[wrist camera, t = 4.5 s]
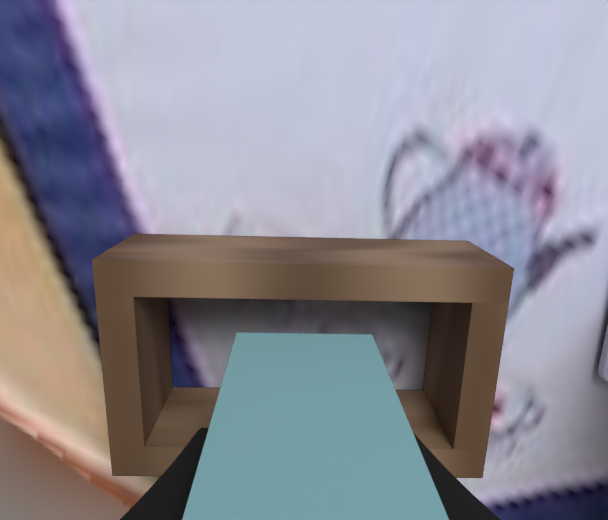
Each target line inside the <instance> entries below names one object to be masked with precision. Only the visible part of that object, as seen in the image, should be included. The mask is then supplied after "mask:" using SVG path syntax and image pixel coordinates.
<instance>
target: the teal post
mask: <svg viewBox="0 0 608 520" xmlns="http://www.w3.org/2000/svg"><path fill="white" fill-rule="evenodd" d="M182 520H449V518H448V516H447V514H446V511H445V509H444V506H443V504H442V502H441V499H440V497H439V494H438V492H437V490H436V487H435V485H434V482H433V480H432V477H431V475H430V473H429V470H428V468H427V465H426V463H425V461H424V458H423V456H422V453H421V451H420V448H419V446H418V444H417V441H416V439H415V436H414V434H413V432H412V429H411V427H410V424H409V422H408V420H407V417H406V415H405V412H404V410H403V407H402V405H401V403H400V400H399V398H398V395H397V393H396V391H395V388H394V386H393V383H392V381H391V378H390V376H389V374H388V371H387V369H386V366H385V364H384V362H383V359H382V357H381V354H380V352H379V350H378V347H377V345H376V342H375V340H374V337H373V335H372V334H306V333H236V336H235V340H234V343H233V347H232V350H231V354H230V357H229V361H228V364H227V367H226V371H225V374H224V378H223V381H222V385H221V388H220V391H219V395H218V398H217V402H216V405H215V409H214V412H213V416H212V419H211V422H210V426H209V429H208V433H207V436H206V440H205V443H204V446H203V450H202V453H201V457H200V460H199V464H198V467H197V471H196V474H195V477H194V481H193V484H192V488H191V491H190V495H189V498H188V502H187V505H186V508H185V512H184V515H183V519H182Z"/></svg>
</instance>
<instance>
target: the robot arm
mask: <svg viewBox="0 0 608 520" xmlns="http://www.w3.org/2000/svg"><path fill="white" fill-rule="evenodd" d="M598 373H599V375H600V376H601V377H602V378H603V379H605V380H606V381H607V382H608V325H607V330H606V335H605V339H604V344H603V349H602V354H601V358H600V363H599V368H598ZM208 429H209V428H200V429H199V430H198V431H197V432H196V433H195V434H194V436H193V437H192V438H191V440H190V441H189V442H188V444H187V445H186V446H185V448H184V449H183V450H182V451H181V453H180V454H179V455H178V456H177V458H176V459H175V460H174V461H173V463H172V464H171V465H170V466H169V467H168V469H167V470H166V471H165V472H164V473H163V474H162V475H161V477H160V478H159V479H158V480H157V481H156V482H155V484H154V485H153V486H152V487H151V488H150V489H149V490H148V491H147V492H146V493H145V494H144V495H143V496H142V498H141V499H140V500H139V501H138V502H137V503H136V504H135V505H134V506H133V507H132V508H131V509H130V510H129V511H128V512H127V513H126V514H125V515H124V516H123V517H122V518H121V519H120V520H182V519H183V515H184V512H185V508H186V505H187V502H188V498H189V495H190V491H191V488H192V484H193V481H194V477H195V474H196V471H197V467H198V464H199V460H200V457H201V453H202V450H203V446H204V443H205V440H206V436H207V433H208ZM413 434H414V433H413ZM414 436H415V439H416V441H417V444H418V446H419V448H420V451H421V453H422V456H423V458H424V461H425V463H426V465H427V468H428V470H429V473H430V475H431V477H432V480H433V482H434V485H435V487H436V490H437V492H438V494H439V497H440V499H441V502H442V504H443V506H444V509H445V511H446V514H447V516H448V518H449V520H500V519H499V518H498V517H497V516H496V515H494V514H493V513H492V512H491V511H490V510H489V509H488V508H487V507H486V506H484V505H483V504H482V503H481V502H480V501H479V500H478V499H477V498H476V497H475V496H474V495H472V494H471V493H470V492H469V491H468V490H467V489H466V488H465V487H464V486H463V485H462V484H461V483H460V482H459V481H458V480H457V479H456V478H455V477H454V476H453V475H452V474H451V473H450V472H449V471H448V470H447V469H446V467H445V466H444V465H443V464H442V463H441V462H440V461H439V460H438V459H437V458H436V457H435V456H434V455H433V454H432V452H431V451H430V450H429V449H428V448H427V447H426V446H425V445H424V444H423V443H422V441H421V440H420V439H419V438H418V437H417V436H416V435H415V434H414Z"/></svg>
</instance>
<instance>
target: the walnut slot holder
mask: <svg viewBox="0 0 608 520" xmlns="http://www.w3.org/2000/svg"><path fill="white" fill-rule="evenodd" d="M92 267H93V277H94V288H95V298H96V309H97V319H98V329H99V340H100V350H101V361H102V371H103V382H104V392H105V403H106V413H107V423H108V434H109V444H110V455H111V465H112V476H161V475H162V474H163V473H164V472H165V471H166V470H167V469H168V467H169V466H170V465H171V464H172V463H173V461H174V460H175V459H176V458H177V456H178V455H179V454H180V453H181V451H182V450H183V449H184V448H185V446H186V445H187V444H188V442H189V441H190V440H191V438H192V437H193V436H194V434H195V433H196V432H197V431H198V430H199V429H200V428H209V426H210V422H211V419H212V416H213V412H214V409H215V405H216V402H217V398H218V395H219V391H220V388H190V387H173V380H172V361H171V341H170V322H169V303H168V297H174V298H231V299H288V300H346V301H403V302H432V310H431V320H430V329H429V339H428V348H427V358H426V367H425V377H424V386H423V390H395V391H396V393H397V395H398V398H399V400H400V403H401V405H402V407H403V410H404V412H405V415H406V417H407V420H408V422H409V424H410V427H411V429H412V432H413V433H414V434H415V435H416V436H417V437H418V438H419V439H420V440H421V441H422V443H423V444H424V445H425V446H426V447H427V448H428V449H429V450H430V451H431V452H432V454H433V455H434V456H435V457H436V458H437V459H438V460H439V461H440V462H441V463H442V464H443V465H444V466H445V467H446V469H447V470H448V471H449V472H450V473H451V474H452V475H453V476H454V477H455V478H482V477H483V470H484V464H485V457H486V451H487V444H488V437H489V431H490V424H491V417H492V411H493V404H494V398H495V391H496V384H497V378H498V371H499V365H500V358H501V351H502V345H503V338H504V331H505V325H506V318H507V312H508V305H509V298H510V292H511V285H512V278H513V272H514V268H513V267H511V266H509V265H508V264H506V263H504V262H503V261H501V260H499V259H498V258H496V257H494V256H493V255H491V254H489V253H488V252H486V251H484V250H483V249H481V248H479V247H478V246H476V245H474V244H472V243H471V242H469V241H447V240H400V239H354V238H307V237H260V236H214V235H167V234H133V235H132V236H130V237H128V238H127V239H125V240H123V241H122V242H120V243H119V244H117V245H115V246H114V247H112V248H110V249H109V250H107V251H106V252H104V253H102V254H101V255H99V256H97V257H96V258H94V259H92Z"/></svg>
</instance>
